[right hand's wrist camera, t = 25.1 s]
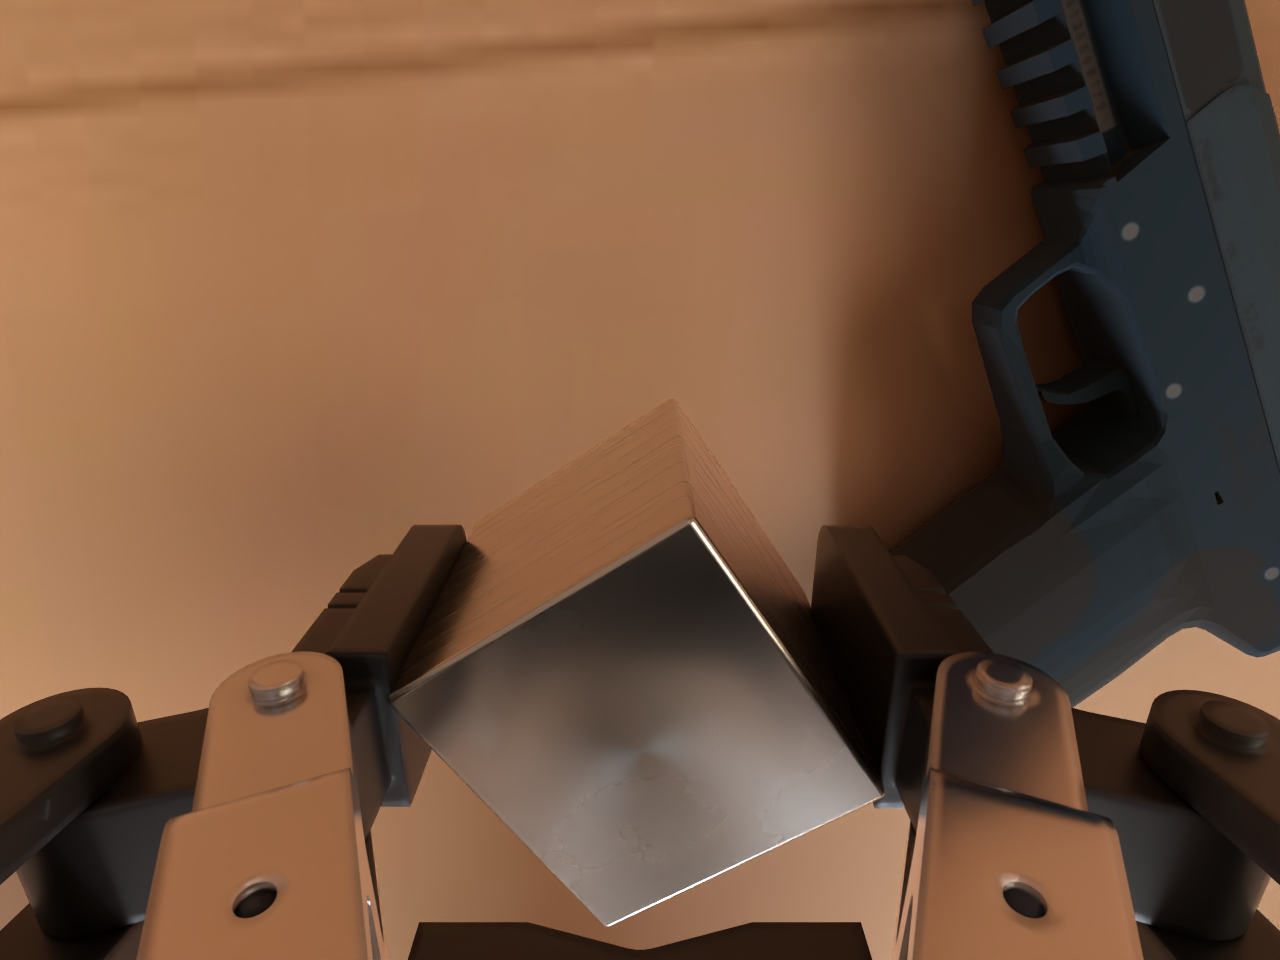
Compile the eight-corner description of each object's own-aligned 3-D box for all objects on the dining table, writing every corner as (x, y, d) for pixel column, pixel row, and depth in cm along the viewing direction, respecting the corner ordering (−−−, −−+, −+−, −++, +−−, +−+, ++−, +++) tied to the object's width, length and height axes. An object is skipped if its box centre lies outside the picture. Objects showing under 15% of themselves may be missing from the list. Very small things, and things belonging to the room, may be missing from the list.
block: (673, 394, 11) (692, 514, 7) (806, 594, 13) (890, 797, 8) (473, 523, 12) (381, 701, 8) (616, 697, 14) (605, 932, 9)
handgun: (590, 139, 16) (1141, -204, 14) (897, 721, 21) (1330, 538, 19) (576, 121, 13) (1282, -324, 11) (939, 806, 18) (1461, 599, 16)
